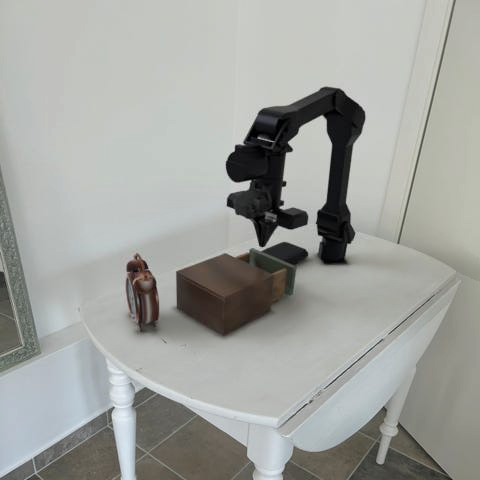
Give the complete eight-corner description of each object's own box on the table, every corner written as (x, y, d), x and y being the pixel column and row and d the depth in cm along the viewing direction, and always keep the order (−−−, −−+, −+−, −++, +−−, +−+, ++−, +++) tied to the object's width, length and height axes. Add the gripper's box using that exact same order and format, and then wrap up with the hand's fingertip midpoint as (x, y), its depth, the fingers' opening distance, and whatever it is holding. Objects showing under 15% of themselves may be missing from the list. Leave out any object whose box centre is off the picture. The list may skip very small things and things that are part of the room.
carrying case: (279, 247, 137) (246, 262, 127) (280, 237, 135) (246, 251, 126) (310, 259, 131) (278, 275, 122) (312, 248, 130) (279, 264, 120)
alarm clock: (126, 311, 103) (121, 246, 95) (149, 307, 105) (145, 244, 97) (138, 338, 95) (133, 269, 87) (162, 334, 96) (159, 266, 88)
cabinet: (224, 288, 114) (225, 252, 110) (270, 311, 106) (274, 275, 101) (176, 308, 105) (175, 271, 100) (223, 336, 97) (224, 297, 92)
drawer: (254, 273, 120) (256, 246, 116) (296, 293, 112) (299, 265, 108) (211, 292, 110) (211, 263, 107) (253, 314, 103) (256, 284, 99)
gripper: (209, 170, 99) (206, 241, 107) (279, 193, 88) (270, 270, 96) (246, 164, 106) (241, 231, 114) (315, 184, 95) (303, 257, 103)
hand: (262, 246), depth 106 cm, fingers closed
